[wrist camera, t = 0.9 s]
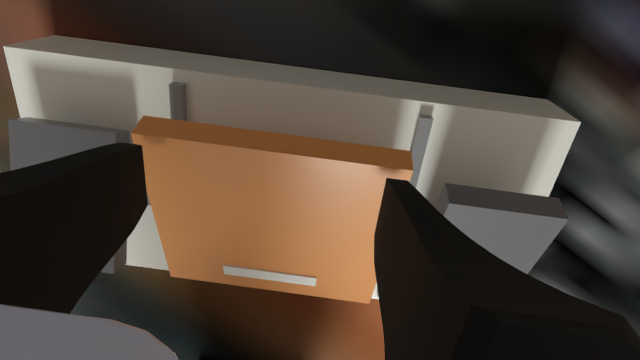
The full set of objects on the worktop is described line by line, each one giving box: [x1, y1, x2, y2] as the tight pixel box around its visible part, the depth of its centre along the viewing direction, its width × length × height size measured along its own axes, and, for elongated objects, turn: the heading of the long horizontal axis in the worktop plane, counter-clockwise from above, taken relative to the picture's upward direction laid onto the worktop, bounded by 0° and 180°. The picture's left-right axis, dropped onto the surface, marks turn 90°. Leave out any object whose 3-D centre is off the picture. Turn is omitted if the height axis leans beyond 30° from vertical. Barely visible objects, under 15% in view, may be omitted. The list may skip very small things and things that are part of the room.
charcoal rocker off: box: [8, 117, 130, 274], centre depth 16 cm, size 6×4×1 cm
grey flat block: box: [435, 183, 569, 274], centre depth 16 cm, size 6×4×1 cm
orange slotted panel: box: [131, 116, 413, 304], centre depth 16 cm, size 8×9×1 cm
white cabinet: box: [3, 35, 581, 299], centre depth 18 cm, size 10×22×4 cm, turn 84°
